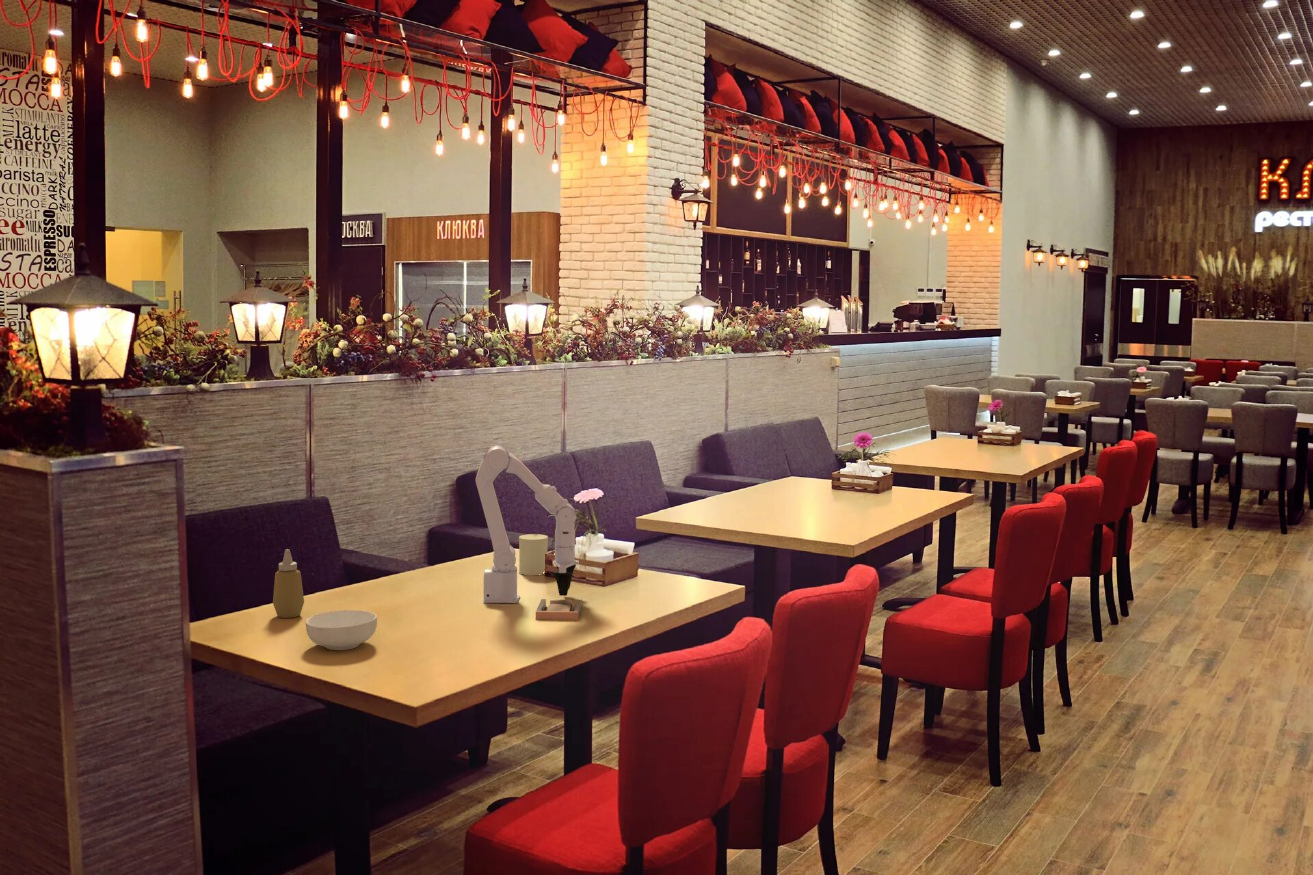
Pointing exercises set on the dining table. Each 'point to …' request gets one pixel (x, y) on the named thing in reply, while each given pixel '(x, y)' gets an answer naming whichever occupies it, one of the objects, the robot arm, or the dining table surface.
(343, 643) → the cereal bowl
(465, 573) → the dining table surface
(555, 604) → the brown slab
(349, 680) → the dining table surface
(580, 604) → the tray
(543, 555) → the can
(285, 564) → the squeeze bottle
